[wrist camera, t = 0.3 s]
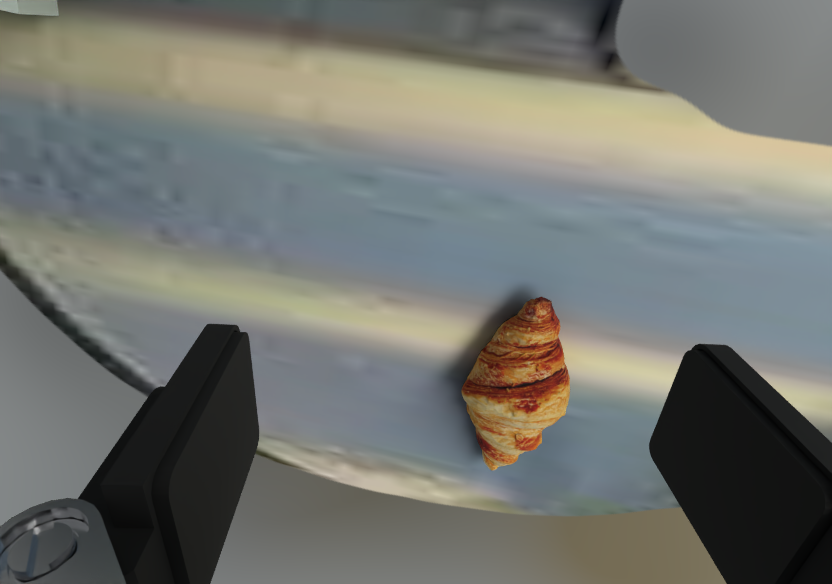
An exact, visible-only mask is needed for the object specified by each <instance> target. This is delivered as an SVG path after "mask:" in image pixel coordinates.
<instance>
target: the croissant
mask: <svg viewBox="0 0 832 584" xmlns="http://www.w3.org/2000/svg"><path fill="white" fill-rule="evenodd" d="M559 331H560V322H559V319H558V318H557V316H556V314H555V312H554V309H553V307H552V302H551V301H550V300H548V299H546V298H543V297H539V298H536V299H535V300H534V299H531V300H530V301H528V302H526V303H525V305H524V306H523V308H522V309H521V310H520V311H519V313H518V314H517V315H516V316H514V317H512V318H510V319H509V320H507V321H506V322H504V323H503V324H502V325H501V326H500V327H499V328H498V330H497V331H496V333H495V334H494V336H493V338H492V340H491V342H489V343H488V344H487V346H486V347H485V348H484V349H483V350H482V351H481V353H480V354H479V356H478V358H477V361H476V363H475V365H474V368H473V369H472V371H471V372H470V374H469V375H468V377H467V380H466V382H465V383H464V385H463V387H462V392H461V393H462V396H463V398H464V400H465V401H466V402H467V412H468V414H469V415H470V418H471V420H472V422H473V424H474V425H475V427H476V436H477V440H478V443H479V445H480V447H481V449H482V455H483V461H484V462H485V464H486V465H487V466H488V468H489V469H490V470H495V469H497V468H498V467H499V466H505V465H510V464H512V463H514V462H515V461H517V459H518V455H519V454H521V453H523V452H525V451H531V450H534V449H536V448H537V446H538V445H539V444H541V442H542V433H541V432H542V430H543V429H544V428H545V427H548V426H550V425H552V424H554V423H555V422H556V421H558V420H559V418H560V417H561V416H564V415H565V412H566V407H567V405H568V399H569V394H570V385H569V384H570V378H569V374H568V370H567V367H566V365H565V363H564V353H563V349H562V345H561V342H560V340H559V337H558V334H559Z"/></svg>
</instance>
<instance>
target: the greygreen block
mask: <svg viewBox="0 0 832 584" xmlns="http://www.w3.org/2000/svg"><path fill="white" fill-rule="evenodd" d="M0 10H3V11H7V12H12V13H17V14H28V15H47V16H59V14H58V6H57V0H0Z"/></svg>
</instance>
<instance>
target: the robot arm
mask: <svg viewBox="0 0 832 584" xmlns="http://www.w3.org/2000/svg"><path fill="white" fill-rule="evenodd" d="M258 441H259V424H258V415H257V406H256V397H255V388H254V379H253V370H252V361H251V352H250V343H249V336H248V334H247V333H246V332H240V330H239V327H238V326H237V325H224V324H207V325H206V326H205V328H204V329H203V331H202V332H201V334H200V335H199V337H198V338H197V340H196V341H195V343H194V344H193V346H192V347H191V349H190V350H189V352H188V353H187V355H186V356H185V358H184V359H183V361H182V362H181V364H180V365H179V367H178V368H177V370H176V371H175V373H174V374H173V376H172V377H171V379H170V380H169V382H168V383H167V385H166V386H165V387H158V388H156V389H155V390H154V391H153V392H152V393H151V394H150V395H149V397H148V398H147V400H146V401H145V403H144V404H143V405H142V407H141V408H140V410H139V411H138V413H137V414H136V416H135V417H134V418H133V420H132V421H131V423H130V424H129V426H128V427H127V429H126V430H125V431H124V433H123V434H122V436H121V437H120V439H119V440H118V442H117V443H116V444H115V446H114V447H113V449H112V450H111V452H110V453H109V454H108V456H107V457H106V459H105V460H104V462H103V463H102V465H101V466H100V468H99V469H98V470H97V472H96V473H95V475H94V476H93V478H92V479H91V480H90V482H89V483H88V485H87V486H86V488H85V489H84V491H83V492H82V493H81V495H80V496H79V498H78V499H71V498H65V499H58V500H51V501H48V502H45V503H42V504H39V505H36V506H33V507H31V508H29V509H27V510H25V511H23V512H21V513H19V514H18V515H16V516H14V517H12V518H11V519H9V520H8V521H7V522H5V523H4V524H3V525H1V526H0V584H210V583H211V579H212V577H213V574H214V571H215V568H216V565H217V562H218V560H219V557H220V554H221V551H222V548H223V545H224V542H225V539H226V536H227V533H228V530H229V528H230V524H231V522H232V519H233V516H234V513H235V510H236V507H237V504H238V502H239V498H240V496H241V493H242V490H243V487H244V484H245V481H246V478H247V475H248V472H249V470H250V466H251V464H252V461H253V458H254V455H255V452H256V449H257V446H258ZM649 449H650V454H651V457H652V459H653V461H654V463H655V464H656V466H657V468H658V469H659V471H660V473H661V474H662V476H663V478H664V479H665V481H666V483H667V484H668V486H669V488H670V489H671V491H672V493H673V494H674V496H675V498H676V499H677V501H678V503H679V504H680V506H681V508H682V509H683V511H684V513H685V514H686V516H687V518H688V519H689V521H690V523H691V524H692V526H693V528H694V529H695V531H696V533H697V534H698V536H699V538H700V539H701V541H702V543H703V544H704V546H705V548H706V549H707V551H708V553H709V554H710V556H711V558H712V559H713V561H714V563H715V565H716V566H717V568H718V570H719V571H720V573H721V575H722V576H723V578H724V580H725V581H726V583H727V584H832V443H831V442H830V441H829V440H828V439H827V438H826V437H825V436H824V435H823V434H822V433H821V432H820V431H819V430H818V429H816V428H815V427H814V426H813V425H812V424H811V423H810V422H809V421H808V420H807V419H806V418H805V417H804V416H803V415H802V414H801V413H799V412H798V411H797V410H796V409H795V408H794V407H793V406H792V405H791V404H790V403H789V402H788V401H787V400H786V399H785V398H784V397H782V396H781V395H780V394H779V393H778V392H777V391H776V390H775V389H774V388H773V387H772V386H771V385H770V384H769V383H768V382H767V381H765V380H764V379H763V378H762V377H761V376H760V375H759V374H758V373H757V372H756V371H755V370H754V369H753V368H752V367H751V366H750V365H748V364H747V363H746V362H745V361H744V360H743V359H742V358H741V357H740V356H739V355H738V354H737V353H736V352H735V351H734V350H733V349H732V348H730V347H729V346H726V345H713V344H698V345H695V346H694V347H693V348H692V350H690V351H687V352H686V353H685V355H684V356H683V359H682V362H681V364H680V367H679V369H678V372H677V374H676V377H675V379H674V382H673V384H672V387H671V389H670V392H669V394H668V397H667V399H666V402H665V404H664V407H663V409H662V412H661V414H660V417H659V419H658V422H657V424H656V427H655V429H654V432H653V434H652V437H651V440H650V443H649Z"/></svg>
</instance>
